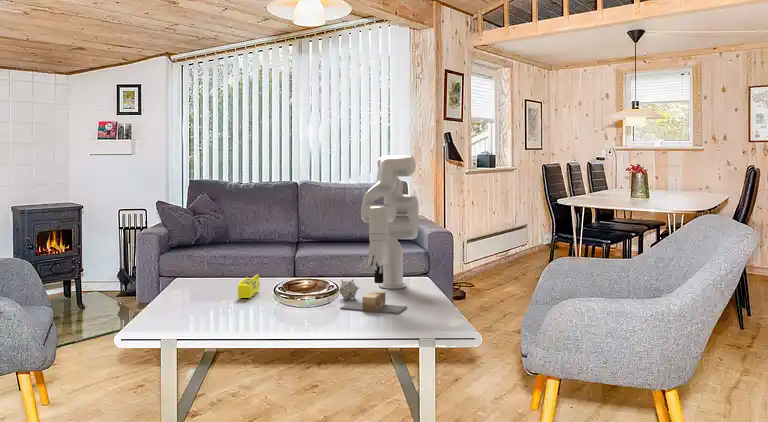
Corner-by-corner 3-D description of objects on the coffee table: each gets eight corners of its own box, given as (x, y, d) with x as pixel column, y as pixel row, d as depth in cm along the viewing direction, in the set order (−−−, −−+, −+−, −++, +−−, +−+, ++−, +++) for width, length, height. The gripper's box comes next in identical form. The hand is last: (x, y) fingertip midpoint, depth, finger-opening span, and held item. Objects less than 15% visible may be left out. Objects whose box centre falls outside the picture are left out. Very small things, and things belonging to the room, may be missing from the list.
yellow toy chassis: (251, 300, 246) (250, 280, 246) (237, 300, 247) (237, 280, 246) (260, 291, 262) (260, 273, 262) (247, 291, 263) (247, 273, 262)
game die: (351, 308, 246) (355, 292, 240) (333, 300, 247) (336, 284, 241) (359, 294, 253) (363, 278, 246) (341, 286, 254) (345, 270, 248)
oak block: (373, 290, 237) (362, 296, 226) (385, 291, 235) (374, 297, 224) (373, 302, 237) (362, 309, 226) (385, 303, 236) (374, 310, 224)
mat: (351, 303, 240) (351, 301, 240) (407, 307, 231) (407, 306, 231) (340, 309, 230) (340, 307, 230) (398, 314, 222) (398, 312, 221)
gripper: (376, 234, 242) (376, 278, 244) (362, 239, 228) (363, 285, 230) (393, 235, 239) (393, 280, 241) (380, 239, 226) (381, 287, 227)
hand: (378, 282), depth 235 cm, fingers closed
